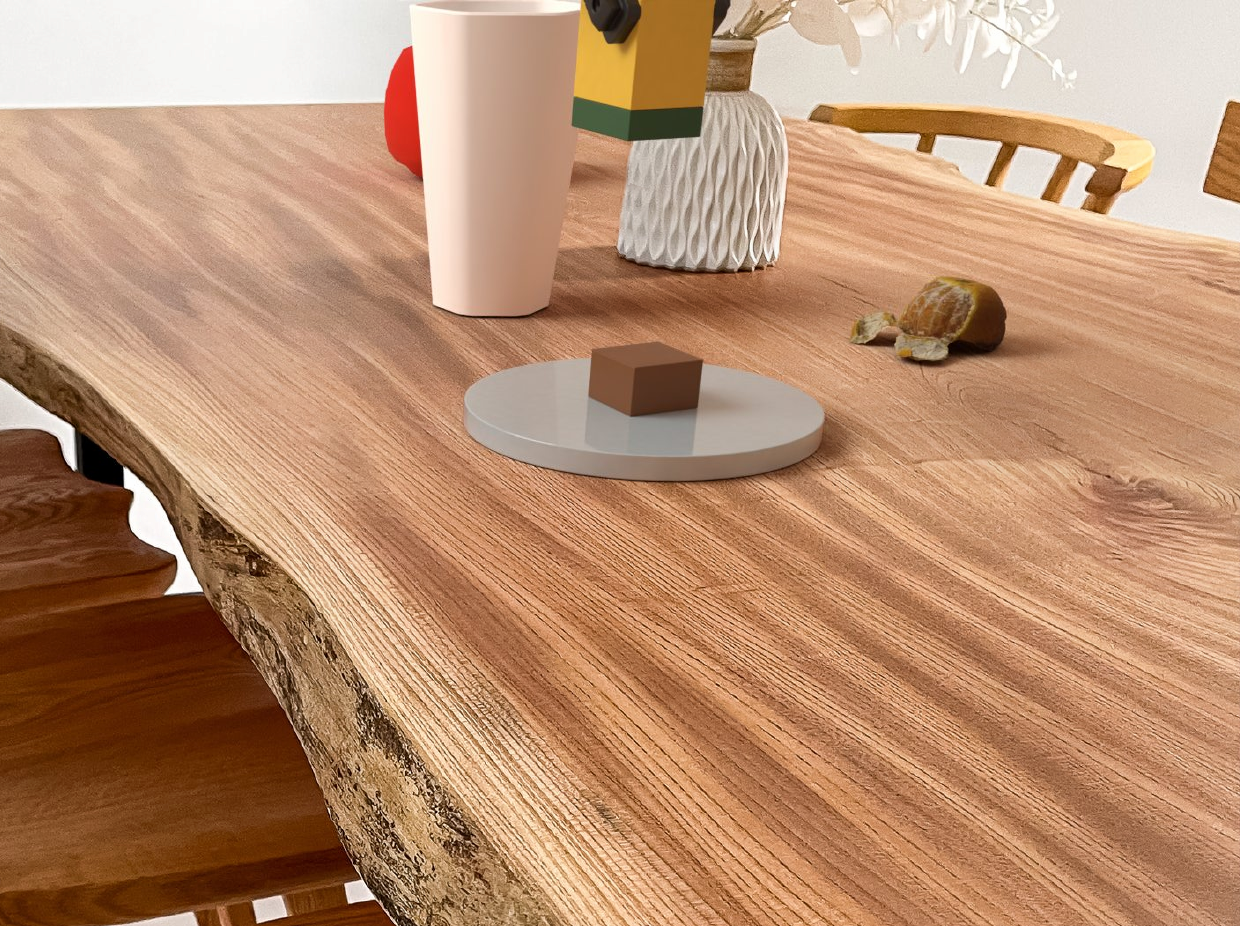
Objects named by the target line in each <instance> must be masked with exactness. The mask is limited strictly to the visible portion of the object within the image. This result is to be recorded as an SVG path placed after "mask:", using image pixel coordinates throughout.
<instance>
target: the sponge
mask: <svg viewBox="0 0 1240 926" xmlns="http://www.w3.org/2000/svg"><path fill="white" fill-rule="evenodd" d="M638 1H639V4H640V6H641V17H640V20H639V21H638V22H637V24H636V25H635V27H634V28H633V30H632V31H631V33H630V35H629V36H628V38H627V39H626V41H625V42H624V43H623V44H608V43H607V42H606V41H605V38H604V36H603V33H602V32H599V31H598V30H597V29H596V28H595V26H594V25H593V24H592V22H591V20H590V17H589V14H588V10H587V9H586V6H585V3H584V0H580V3H581V7H580V20H579V33H578V46H577V59H576V72H575V86H574V98H573V111H572V124H571V125H572V126H573V127H577V128H580V129H581V130H585V131H588V132H591V133H595V134H598V135H603V136H607V137H611V138H614V139H618V140H621V141H624V142H640V141H643V142H645V141H658V140H674V139H688V138H689V139H690V138H692V139H693V138H700V137H701V135H702V125H703V116H704V108H705V107H704V106H705V99H706V90H707V80H708V72H709V71H708V70H709V62H710V54H711V45H712V38H713V36H712V28H713V19H714V18H713V15H714V6H715V1H716V0H638ZM711 37H712V38H711ZM580 129H579V130H580Z"/></svg>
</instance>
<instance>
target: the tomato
mask: <svg viewBox="0 0 1240 926" xmlns="http://www.w3.org/2000/svg"><path fill="white" fill-rule="evenodd" d="M383 104H384V105H383V123H384V137H385V142H386V145H387V150H388V152H389V154H390V155H391V156H392V158H393V159H394V160H395V161H396V162H398V163H400V164H401V165H403V166H405V167H406V168H407V169H408V170H409V171H410V172H411V173H412V174H413V175H415V176H417V177H418V178H420V179H422V180H423V171H422V158H421V146H420V133H419V121H418V108H417V96H416V83H415V71H414V58H413V45H412V44H411V45H409V46H408V47H405V48H403V49H402V50H401V52H400V53H399V56H398V58H397V59H396V61H395V62H394V64H393V67H392V68H391V71H390V74H389V78H388V83H387V86H386V89H385V94H384V103H383Z"/></svg>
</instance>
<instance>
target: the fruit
mask: <svg viewBox="0 0 1240 926" xmlns="http://www.w3.org/2000/svg"><path fill="white" fill-rule="evenodd" d="M1007 318H1008V313H1007V310H1006V307H1005V306H1004V302H1003V299H1002V298H1001V296H1000V295H999V294H998V292H997V291H996V290H995V288H993V287H992V286H989V285H987V284H985V283H982V282H979V281H976V280H974V279H969V278H968V279H967V278H964V277H956V276H938V277H935V278H933V279H932V280H930V281H929V282H928V283H926V284H925V285H924V286H923V288H922V289H921V290H920V291H918V292H917V294H916V295H915V296H914V297H913V298H912V299H911V300H910V302H909V303H908V304H907V306H906V307H905V309H904V310H903V313H902V315H901V317H900V318H896V316H895V315H894V313H893V312H892V313H891V312H889V313H888V312H885V311H878V312H877V311H876V312H872V313H870V314H868V315H866V316H864V317H860V318H857V320H855V322H854V323H853V326H852V328H851V334H850V337H849V341H850V342H852V343H853V344H863V345H865V344H866V343H867V342H869V341H872V340H874V339H875V338H876V337H878V335H879V334H880V333H881V332H882V331H884V330H885V329H887V328H889V327H897V328H899V329H900V331H902V332H903V333H898V335H897V336H896V338H895V343H894V345H893V346H894V349H895V354H896V357H902V358H907V357H908V358H910V359H912V360H914V361H926V360H927V361H930V362H934V361H939V360H945V359H947V358H948V357H949V348H948V346H949V344H952V343H954V342H956V341H958V340H962V341H966V342H969V343H972V344H974V345H975V347H976V348H979V349H980V350H986V351H988V352H991V351H994V350H996V349H997V348H998V347H999V346H1000V345H1001V344H1002V343H1003V340H1004V338H1005V334H1006V329H1007V328H1006V321H1007Z"/></svg>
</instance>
